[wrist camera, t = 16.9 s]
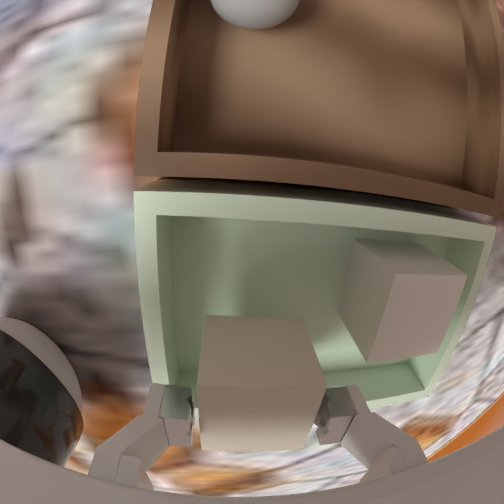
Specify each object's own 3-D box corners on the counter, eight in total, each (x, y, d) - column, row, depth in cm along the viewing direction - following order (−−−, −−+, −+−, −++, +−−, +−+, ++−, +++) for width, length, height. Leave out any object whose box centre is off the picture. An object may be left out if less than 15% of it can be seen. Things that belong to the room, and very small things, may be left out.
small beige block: (353, 238, 13) (394, 273, 9) (420, 243, 13) (467, 275, 10) (337, 312, 14) (366, 363, 11) (401, 310, 15) (437, 353, 11)
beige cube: (205, 314, 12) (196, 385, 8) (302, 317, 12) (327, 384, 8) (206, 382, 13) (201, 449, 9) (288, 383, 13) (302, 448, 10)
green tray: (158, 178, 12) (133, 191, 9) (456, 209, 14) (497, 227, 10) (168, 369, 16) (158, 413, 13) (406, 363, 17) (429, 396, 14)
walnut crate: (197, -78, 7) (191, -114, 4) (454, -13, 8) (486, -28, 5) (158, 167, 12) (133, 176, 9) (458, 201, 14) (499, 217, 10)
